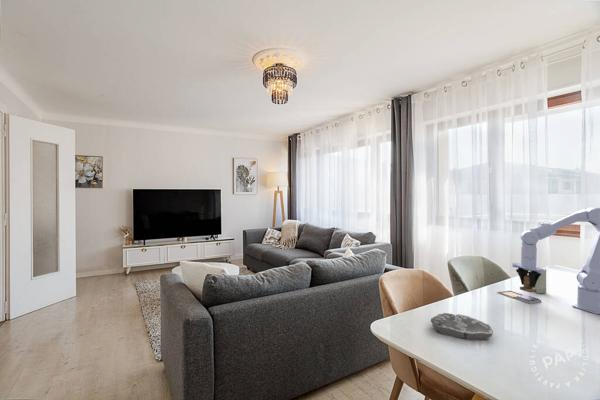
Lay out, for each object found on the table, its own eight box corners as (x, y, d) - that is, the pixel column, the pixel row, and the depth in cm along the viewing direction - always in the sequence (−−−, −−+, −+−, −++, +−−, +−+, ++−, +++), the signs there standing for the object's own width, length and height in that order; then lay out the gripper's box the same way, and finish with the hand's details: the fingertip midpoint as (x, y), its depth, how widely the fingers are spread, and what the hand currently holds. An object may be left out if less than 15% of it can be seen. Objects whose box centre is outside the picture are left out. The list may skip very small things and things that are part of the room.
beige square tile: (527, 297, 147) (527, 296, 147) (513, 298, 144) (513, 297, 144) (510, 291, 155) (510, 290, 155) (496, 292, 153) (496, 291, 153)
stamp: (536, 291, 141) (536, 275, 140) (528, 292, 139) (529, 276, 139) (527, 288, 145) (527, 273, 145) (519, 289, 144) (520, 273, 144)
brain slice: (482, 324, 115) (482, 316, 115) (498, 345, 99) (498, 336, 99) (427, 318, 121) (427, 310, 121) (432, 337, 105) (433, 328, 105)
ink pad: (541, 302, 140) (541, 299, 140) (529, 303, 138) (529, 300, 138) (526, 297, 147) (526, 294, 147) (515, 298, 145) (515, 295, 145)
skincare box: (546, 293, 152) (547, 269, 152) (537, 293, 153) (538, 269, 152) (537, 289, 159) (537, 266, 159) (528, 289, 159) (529, 266, 159)
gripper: (507, 254, 148) (507, 282, 148) (538, 260, 134) (537, 291, 134) (519, 253, 150) (518, 281, 150) (550, 259, 136) (549, 290, 136)
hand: (528, 285), depth 142 cm, fingers closed on stamp, 3 cm apart
